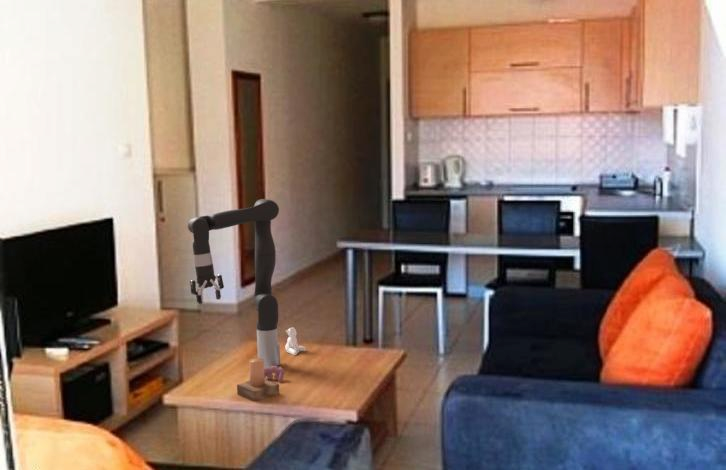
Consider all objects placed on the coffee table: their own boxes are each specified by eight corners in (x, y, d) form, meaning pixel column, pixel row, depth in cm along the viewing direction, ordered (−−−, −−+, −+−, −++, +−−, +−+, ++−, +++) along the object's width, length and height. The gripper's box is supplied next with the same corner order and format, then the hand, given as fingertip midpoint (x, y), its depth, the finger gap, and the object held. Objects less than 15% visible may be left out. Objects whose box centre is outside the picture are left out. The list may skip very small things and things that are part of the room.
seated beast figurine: (294, 356, 354) (294, 331, 352) (280, 353, 358) (279, 329, 357) (306, 350, 362) (305, 326, 360) (291, 348, 366) (291, 324, 365)
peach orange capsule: (261, 381, 306) (260, 357, 305) (267, 384, 301) (266, 360, 300) (247, 383, 303) (246, 359, 301) (254, 387, 298) (252, 363, 297)
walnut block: (261, 387, 311) (261, 377, 310) (279, 393, 302) (278, 384, 302) (237, 394, 303) (237, 384, 302) (254, 401, 294) (254, 391, 294)
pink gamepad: (284, 383, 319) (286, 367, 321) (280, 382, 315) (282, 365, 317) (263, 382, 322) (265, 365, 324) (258, 380, 318) (261, 364, 320)
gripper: (192, 267, 311) (198, 305, 313) (222, 261, 320) (228, 298, 322) (184, 267, 317) (190, 304, 319) (214, 260, 326) (220, 297, 327)
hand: (209, 301), depth 320 cm, fingers open, 8 cm apart
